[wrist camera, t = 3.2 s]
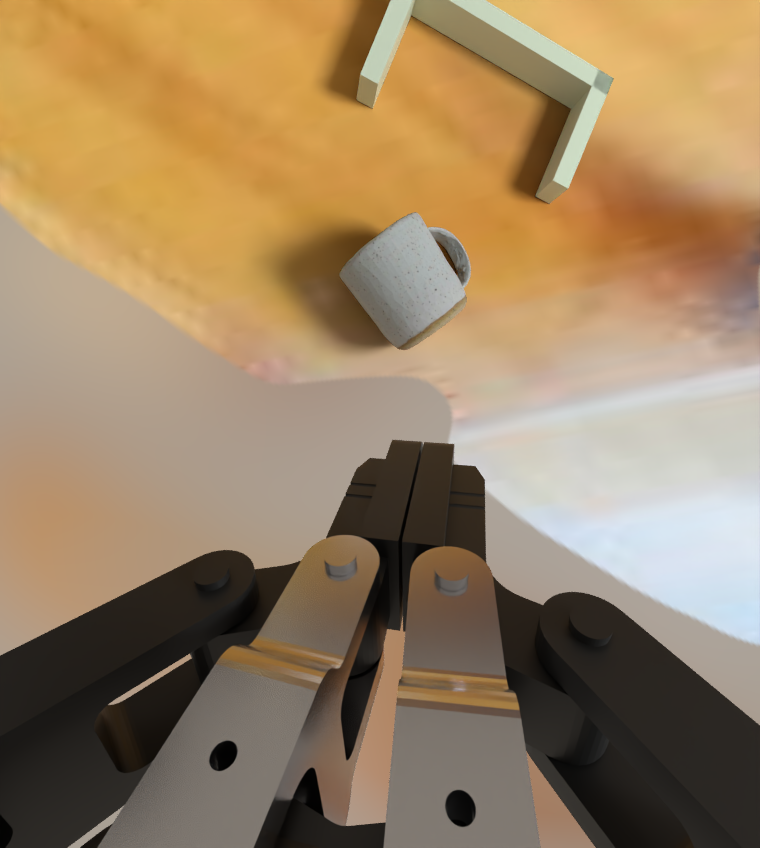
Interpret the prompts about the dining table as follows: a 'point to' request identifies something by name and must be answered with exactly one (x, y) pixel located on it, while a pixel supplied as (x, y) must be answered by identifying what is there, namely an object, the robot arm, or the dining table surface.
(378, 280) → the ceramic mug
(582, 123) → the u-shaped bracket
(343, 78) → the dining table surface
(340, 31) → the dining table surface
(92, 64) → the dining table surface
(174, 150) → the dining table surface
